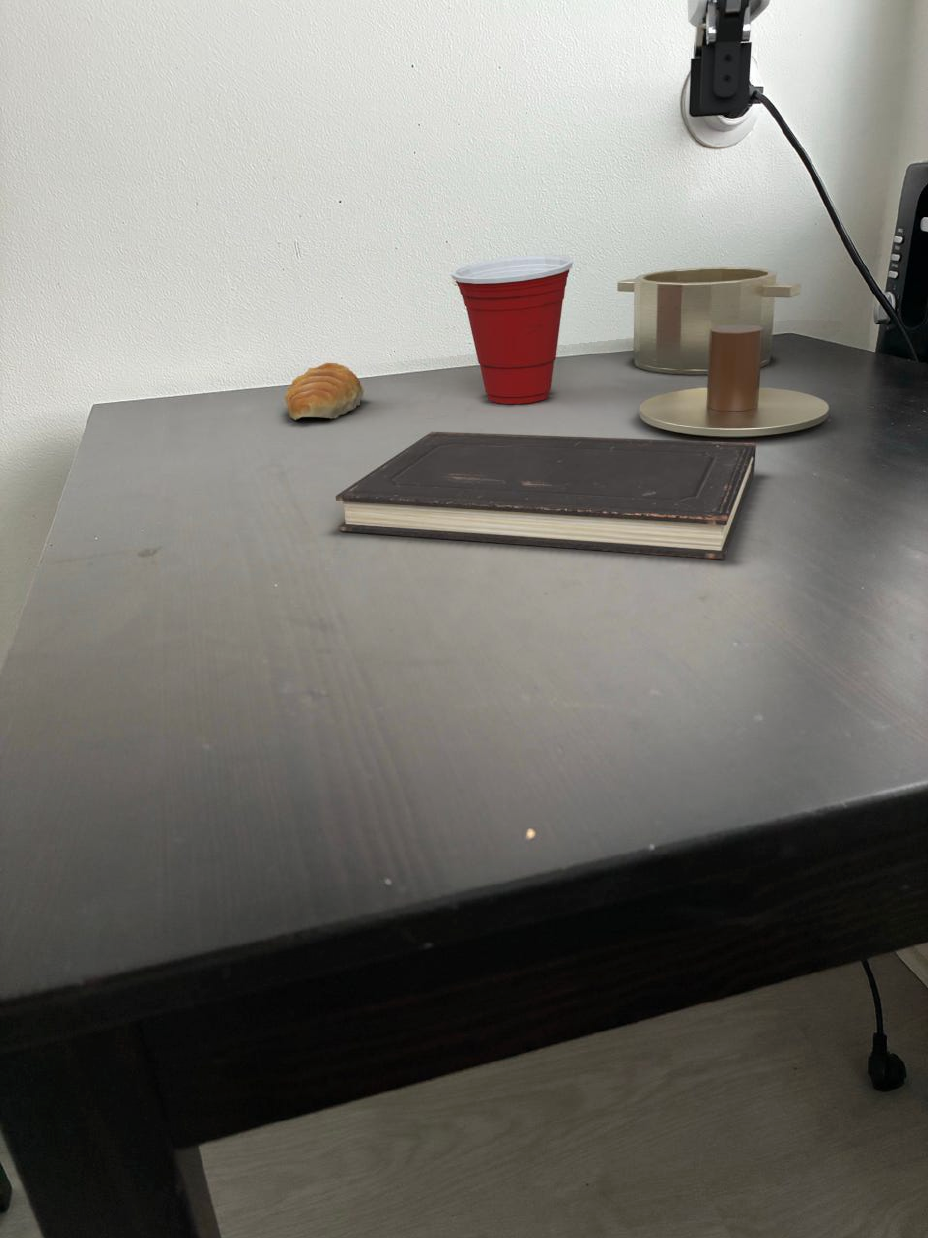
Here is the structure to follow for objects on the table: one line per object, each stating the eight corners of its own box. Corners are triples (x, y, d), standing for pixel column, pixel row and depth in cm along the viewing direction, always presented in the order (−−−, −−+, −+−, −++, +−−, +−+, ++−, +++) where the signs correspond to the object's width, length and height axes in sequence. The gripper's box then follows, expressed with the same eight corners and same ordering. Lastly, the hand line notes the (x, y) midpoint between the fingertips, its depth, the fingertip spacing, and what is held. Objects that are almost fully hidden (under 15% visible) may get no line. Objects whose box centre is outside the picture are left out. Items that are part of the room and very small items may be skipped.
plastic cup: (434, 404, 92) (424, 267, 87) (507, 381, 99) (502, 254, 94) (528, 416, 85) (523, 269, 80) (598, 391, 92) (598, 254, 87)
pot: (655, 344, 113) (656, 265, 109) (818, 356, 101) (825, 268, 98) (587, 366, 104) (586, 280, 100) (758, 381, 92) (764, 285, 89)
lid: (694, 394, 89) (697, 310, 86) (856, 410, 80) (866, 318, 77) (604, 430, 79) (604, 337, 76) (778, 454, 71) (785, 350, 68)
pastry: (348, 423, 87) (342, 379, 85) (272, 427, 87) (266, 383, 86) (367, 399, 95) (363, 358, 94) (298, 403, 96) (293, 362, 94)
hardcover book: (724, 560, 53) (726, 519, 52) (339, 531, 61) (335, 495, 60) (754, 474, 67) (756, 440, 66) (436, 459, 74) (434, 429, 73)
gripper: (813, -228, 58) (788, 104, 65) (769, -146, 73) (753, 114, 80) (681, -214, 59) (671, 111, 66) (665, -136, 74) (658, 120, 81)
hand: (716, 113), depth 73 cm, fingers open, 9 cm apart
